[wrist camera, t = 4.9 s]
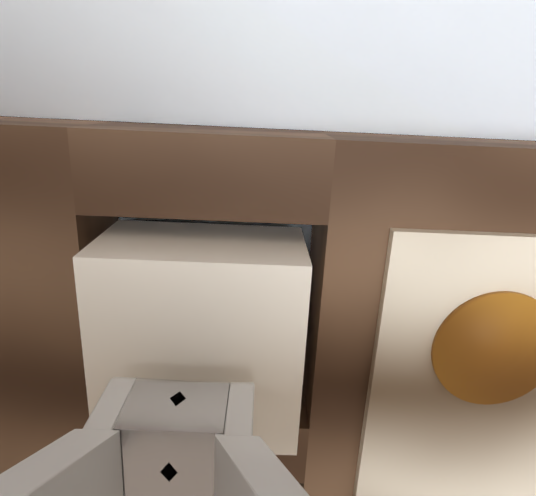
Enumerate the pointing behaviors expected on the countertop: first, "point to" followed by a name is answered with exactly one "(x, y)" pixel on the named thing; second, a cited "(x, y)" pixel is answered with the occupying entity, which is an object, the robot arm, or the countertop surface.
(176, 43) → the countertop surface
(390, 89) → the countertop surface
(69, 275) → the button board
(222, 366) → the button
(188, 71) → the countertop surface
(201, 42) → the countertop surface
